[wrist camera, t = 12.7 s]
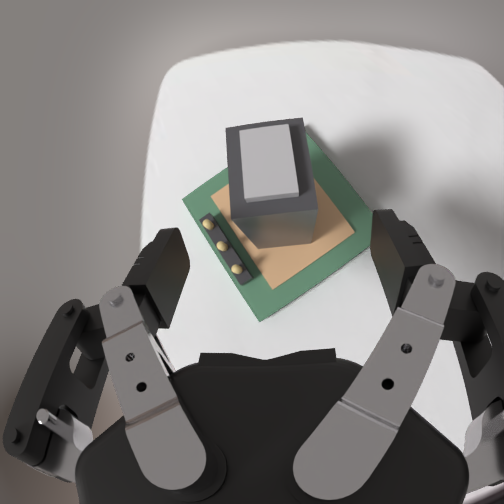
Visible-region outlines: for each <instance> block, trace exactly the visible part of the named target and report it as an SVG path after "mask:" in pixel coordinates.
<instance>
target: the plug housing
mask: <svg viewBox="0 0 504 504" xmlns="http://www.w3.org/2000/svg"><path fill="white" fill-rule="evenodd" d="M226 144H227V162H228V180H229V197H230V213H231V220H232V221H233V222H234V223H235V224H236V225H237V227H238V228H239V229H240V230H241V231H242V232H243V233H244V234H245V235H246V236H247V237H248V239H249V240H250V241H251V242H252V243H253V244H254V245H255V246H256V247H257V248H258V249H264V248H273V247H283V246H293V245H302V244H311V241H312V237H313V232H314V228H315V223H316V218H317V214H318V203H317V196H316V190H315V184H314V177H313V171H312V165H311V159H310V154H309V148H308V143H307V137H306V132H305V127H304V122H303V118H294V119H285V120H277V121H269V122H261V123H254V124H248V125H241V126H235V127H229V128H226Z"/></svg>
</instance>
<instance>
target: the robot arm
mask: <svg viewBox="0 0 504 504" xmlns="http://www.w3.org/2000/svg"><path fill="white" fill-rule="evenodd" d="M370 249H371V256H372V259H373V261H374V264H375V267H376V270H377V272H378V275H379V278H380V281H381V284H382V286H383V289H384V292H385V295H386V298H387V301H388V304H389V307H390V311H391V314H392V319H391V321H390V322H389V324H388V326H387V328H386V330H385V331H384V333H383V335H382V337H381V338H380V340H379V342H378V343H377V345H376V347H375V348H374V350H373V352H372V353H371V355H370V357H369V358H368V360H367V361H366V363H365V365H364V366H361V365H359V364H357V363H355V362H352V361H349V360H345V359H341V358H336V353H335V348H331V349H319V350H306V351H299V352H295V353H291V354H288V355H284V356H280V357H276V358H273V359H268V360H262V359H257V358H252V357H247V356H242V355H238V354H233V353H200V358H199V362H198V363H194V364H191V365H188V366H186V367H183V368H181V369H179V370H177V371H176V370H175V369H174V367H173V365H172V363H171V361H170V359H169V357H168V355H167V353H166V351H165V349H164V347H163V345H162V343H161V341H160V339H159V337H158V336H157V334H156V333H157V330H158V328H165V329H169V327H170V324H171V321H172V318H173V315H174V312H175V309H176V307H177V304H178V301H179V298H180V295H181V292H182V289H183V287H184V284H185V281H186V278H187V275H188V273H189V269H190V260H189V256H188V253H187V250H186V247H185V244H184V241H183V238H182V235H181V233H180V230H179V229H178V228H168V229H161V230H159V232H158V234H157V235H156V237H155V239H154V240H153V242H150V243H149V244H148V245H147V246H146V247H144V248H143V249H142V251H141V253H140V254H139V256H138V259H136V261H135V263H134V266H132V268H131V270H130V272H129V274H128V275H127V277H126V279H125V281H124V282H123V284H122V286H118V287H115V288H113V289H111V290H109V291H108V292H107V293H106V294H104V295H103V297H102V298H101V300H100V303H99V304H98V305H95V306H91V307H88V308H85V306H84V305H83V303H82V302H81V301H80V300H79V299H73V300H70V301H68V302H66V303H64V304H63V305H62V306H61V307H60V308H59V309H58V311H57V313H56V314H55V316H54V318H53V320H52V322H51V324H50V326H49V328H48V329H47V331H46V333H45V335H44V337H43V339H42V341H41V343H40V345H39V347H38V349H37V351H36V353H35V355H34V357H33V359H32V362H31V364H30V366H29V368H28V370H27V373H26V375H25V377H24V380H23V382H22V384H21V387H20V390H19V392H18V394H17V397H16V399H15V402H14V404H13V407H12V410H11V412H10V415H9V418H8V421H7V424H6V427H5V430H4V434H3V444H4V448H5V450H6V451H7V453H8V454H10V455H11V456H13V457H15V458H17V459H18V460H21V461H22V462H24V463H25V464H26V465H28V466H30V467H32V468H34V469H36V470H38V471H40V472H42V473H44V474H46V475H48V476H52V477H55V478H58V479H60V480H62V481H65V482H74V483H76V487H77V491H78V497H79V504H462V503H463V501H464V498H465V496H466V494H467V493H470V492H473V491H475V490H478V489H480V488H483V487H485V486H495V485H498V484H500V483H503V482H504V280H503V279H502V278H500V277H499V276H498V275H496V274H493V273H490V272H483V273H480V274H479V275H478V276H477V278H476V280H475V283H469V282H462V281H457V280H455V277H454V275H453V274H452V272H451V271H449V270H448V269H447V268H445V267H443V266H441V265H437V264H436V263H435V262H434V260H433V258H432V256H431V255H430V253H429V251H428V250H427V248H426V246H425V245H424V243H423V242H422V240H421V238H420V237H419V236H418V234H417V232H416V230H415V229H414V227H413V226H411V225H410V224H408V223H407V222H406V221H399V219H398V218H397V216H396V215H395V213H394V211H393V210H392V209H385V210H374V211H373V216H372V229H371V241H370ZM487 334H488V336H489V338H488V336H487ZM440 339H441V340H449V341H453V344H454V347H455V351H456V354H457V357H458V361H459V364H460V368H461V371H462V375H463V379H464V383H465V387H466V391H467V396H468V400H469V405H470V410H471V415H472V420H473V421H472V422H471V423H470V425H469V426H468V428H467V430H466V434H465V443H464V451H463V453H462V452H461V451H460V449H459V448H458V447H457V446H455V445H454V444H453V443H452V442H451V441H450V440H448V439H447V438H446V437H445V436H444V435H443V434H442V433H440V432H439V431H438V430H437V429H436V428H435V427H434V426H432V425H431V424H430V423H429V422H428V421H427V420H426V419H424V418H423V417H422V416H421V415H420V414H419V413H418V412H416V411H415V410H414V409H413V408H412V407H411V404H412V402H413V400H414V398H415V396H416V394H417V392H418V390H419V388H420V386H421V383H422V381H423V379H424V377H425V375H426V372H427V370H428V368H429V365H430V363H431V360H432V358H433V355H434V353H435V350H436V348H437V345H438V342H439V340H440ZM489 339H490V341H491V344H492V346H491V344H490V341H489ZM75 347H77V348H78V349H79V350H80V351H81V352H82V354H81V356H80V359H79V362H78V364H77V366H76V369H75V371H74V374H73V373H72V372H71V370H70V366H69V362H70V358H71V356H72V354H73V352H74V349H75ZM108 371H110V375H111V378H112V382H113V385H114V388H115V391H116V394H117V397H118V400H119V403H120V406H121V409H122V412H123V416H122V417H121V418H120V419H119V420H117V421H116V422H115V423H114V424H113V425H112V426H110V427H109V428H108V429H107V430H106V431H105V432H103V433H102V434H101V435H100V436H99V437H97V438H96V439H95V440H93V436H92V432H91V428H92V424H93V421H94V417H95V413H96V409H97V406H98V403H99V400H100V397H101V393H102V390H103V387H104V384H105V381H106V377H107V374H108Z"/></svg>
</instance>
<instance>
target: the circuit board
mask: <svg viewBox="0 0 504 504" xmlns="http://www.w3.org/2000/svg"><path fill="white" fill-rule="evenodd" d="M306 137H307V143H308V148H309V154H310V159H311V165H312V171H313V177H314V184H315V190H316V196H317V203H318V214H317V218H316V223H315V228H314V232H313V237H312V241H311V244H302V245H293V246H283V247H273V248H264V249H258V248H257V247H256V246H255V245H254V244H253V243H252V242H251V241H250V240H249V239H248V237H247V236H246V235H245V234H244V233H243V232H242V231H241V230H240V229H239V228H238V227H237V225H236V224H235V223H234V222H233V221H232V220H231V213H230V197H229V180H228V167H227V168H226V169H224V170H223V171H221V172H220V173H218V174H217V175H215V176H214V177H212V178H211V179H210V180H208V181H207V182H205V183H204V184H203V185H201V186H200V187H198V188H197V189H195V190H194V191H193V192H191V193H190V194H189V195H187V196H186V197H184V198H183V199H182V200H183V202H184V204H185V205H186V207H187V209H188V210H189V212H190V213H191V215H192V217H193V218H194V220H195V222H196V223H197V225H198V227H199V228H200V230H201V231H202V233H203V235H204V236H205V238H206V239H207V241H208V243H209V244H210V246H211V248H212V249H213V251H214V252H215V254H216V255H217V257H218V259H219V260H220V262H221V263H222V265H223V267H224V268H225V270H226V271H227V273H228V274H229V276H230V278H231V279H232V281H233V282H234V284H235V285H236V287H237V288H238V290H239V292H240V293H241V295H242V296H243V298H244V299H245V301H246V302H247V304H248V305H249V307H250V309H251V310H252V312H253V313H254V315H255V316H256V318H257V319H258V321H259V322H261V321H262V320H264V319H265V318H267V317H268V316H270V315H272V314H273V313H275V312H276V311H278V310H279V309H281V308H282V307H284V306H285V305H287V304H288V303H290V302H291V301H293V300H294V299H296V298H297V297H299V296H300V295H302V294H303V293H304V292H306V291H307V290H309V289H310V288H312V287H313V286H315V285H316V284H318V283H319V282H320V281H322V280H323V279H325V278H326V277H327V276H329V275H330V274H332V273H333V272H335V271H336V270H337V269H339V268H340V267H341V266H343V265H344V264H346V263H347V262H348V261H350V260H351V259H352V258H354V257H355V256H357V255H358V254H359V253H361V252H362V251H363V250H365V249H366V248H367V247H369V246H370V241H371V229H372V216H373V214H372V213H371V211H370V210H369V208H368V207H367V206H366V204H365V203H364V202H363V200H362V199H361V198H360V197H359V195H358V194H357V193H356V191H355V190H354V189H353V188H352V186H351V185H350V184H349V183H348V181H347V180H346V179H345V178H344V176H343V175H342V174H341V173H340V171H339V170H338V169H337V168H336V167H335V165H334V164H333V163H332V162H331V161H330V159H329V158H328V157H327V156H326V155H325V154H324V152H323V151H322V150H321V149H320V148H319V147H318V146H317V144H316V143H315V142H314V141H313V140H312V139H311V138H310V137H309V135H308V134H307V133H306Z"/></svg>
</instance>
